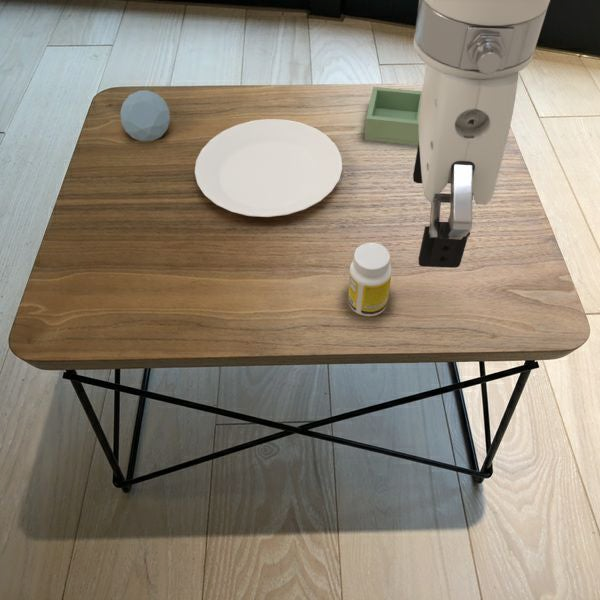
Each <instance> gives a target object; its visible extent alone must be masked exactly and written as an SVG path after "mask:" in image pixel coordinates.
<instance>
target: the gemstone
mask: <svg viewBox="0 0 600 600" xmlns="http://www.w3.org/2000/svg"><path fill="white" fill-rule="evenodd" d="M119 114H120V115H119V116H120V123H121V126H122V127H123V129H124V131H125V133H127V135H129V136H130V137H131V138H132V139H133V140H137V141H139V142H153V141H156V140H158V139H160V138H162V136H163V135H164V134H165V133H166V132H167V130H168V128H169V125H170V123H171V122H170V121H171V114H170V109H169V106H168V104H167V102H166V100H165V99H164V98H163V97H161V95H160V94H158V93H156V92H154V91H151V90H147V89H146V90H137V91H135V92H132V93H131V94H129V95H128V96H127V97H126V99H125V100H123V102H122V104H121V108H120V112H119Z"/></svg>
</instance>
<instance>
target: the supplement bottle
mask: <svg viewBox="0 0 600 600" xmlns="http://www.w3.org/2000/svg"><path fill="white" fill-rule="evenodd" d="M353 254H354V255H353V260H352V262H351V263H350V266H349V276H348V277H349V279H348V297H347V301H348V305H349V307H350V309H351V310H352V311H353V312H354V313H356V314H358V315H360V316H362V317H375V316H378V315H380V314H382V313H383V312H384V311H385V310H386V308H387V307H388V302H389V295H390V288H391V280H392V275H393V271H392V265H391V254H390V251H389V250H388V248H387V247H385V245H383V244H380V243H378V242H366V243H362V244H361V245H359V246H358V247H356V250H354V253H353Z"/></svg>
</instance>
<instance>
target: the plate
mask: <svg viewBox="0 0 600 600" xmlns="http://www.w3.org/2000/svg"><path fill="white" fill-rule="evenodd" d="M343 169H344V167H343V159H342V154H341V152H340V149H339V148H338V146H337V144H336V143H335V142H334V141H333V140H332V139H331V138H330V137H329V136H328V135H327V134H325V133H324V132H322V131H321V130H319V129H318V128H316V127H313V126H310V125H309V124H306V123H304V122H299V121H294V120H290V119H283V118H281V119H280V118H265V119H264V118H263V119H256V120H250V121H247V122H242V123H239V124H236V125H233V126H231V127H228V128H226V129H225V130H222V131H221V132H219V133H218V134H217V135H214V137H212V138H210V140H208V142H207V143H206V144H205V145H204V147H202V148H201V150H200V152H199V154H198V156H197V158H196V159H195V166H194V177H195V180H196V184H197V186H198V187H199V189H200V190H201V192H202V193H203V195H204V196H205V197H206V198H208V200H209V201H211V202H212V203H213V204H215V205H216V206H218V207H220V208H222V209H224V210H227V211H229V212H231V213H235V214H238V215H243V216H247V217H259V218H260V217H261V218H272V217H281V216H287V215H292V214H295V213H297V212H301V211H305V210H307V209H309V208H310V207H312V206H314V205H316V204H318V203H320V202H321V201H322V200H323V199H325V198H326V197H327V196H328V195H329V194H331V193H332V192H333V190H334V188H335V187H336V186H337V184H338V182H339V181H340V179H341V175H342V172H343Z"/></svg>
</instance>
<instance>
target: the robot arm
mask: <svg viewBox="0 0 600 600" xmlns="http://www.w3.org/2000/svg"><path fill="white" fill-rule="evenodd" d="M550 3H551V0H418V5H417V6H418V7H417V15H416V19H415V20H416V21H415V28H414V37H413V48H414V51H415V53H416V55H417V56H418V57H419V58H420V60H422V61H423V62H424V63H425V71H424V76H423V81H422V88H421V91H422V95H421V103H420V112H419V143H418V146H417V148H416V149H417V150H416V155H415V160H414V161H415V162H414V167H413V173H412V174H413V175H412V180H413V182H414V183H415V184H421V185H422V190H423V197H424V198H425V199H426V200H427V202H429V203H430V213H429V214H430V215H429V225H427V226H426V225H425V226H424V230H423V234H422V240H421V244H420V249H419V253H418V265H419V266H420V267H425V268H426V267H427V268H447V269H448V268H450V269H453V268H454V269H456V268H458V267H460V265H461V262H462V259H463V256H464V252H465V249H466V245H467V242H468V240H469V237H470V235H471V230H472V227H473V199H474V204H475V205H482V206H485V205H488V204H489V203H490V202H491V201H492V199H493V197H494V194H495V189H496V186H497V181H498V178H499V174H500V171H501V167H502V162H503V158H504V154H505V150H506V146H507V142H508V138H509V133H510V128H511V125H512V120H513V116H514V115H513V114H514V110H515V109H514V108H515V103H516V95H517V89H518V80H519V72H521V71H523V70H524V69H525V68H526V67H528V65H529V64H530V63H531V62H532V60H533V58H534V54H535V51H536V47H537V44H538V41H539V38H540V34H541V31H542V27H543V25H544V21H545V17H546V14H547V11H548V8H549V5H550ZM449 184H450V193H444V192H443V193H441V192H442V191H443V190H444V189H445V188H446V186H447V185H449ZM443 203H447V204H450V207H449V210H450V211H449V216H448V219H447V221H441V219H440V218H441V205H442V204H443Z"/></svg>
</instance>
